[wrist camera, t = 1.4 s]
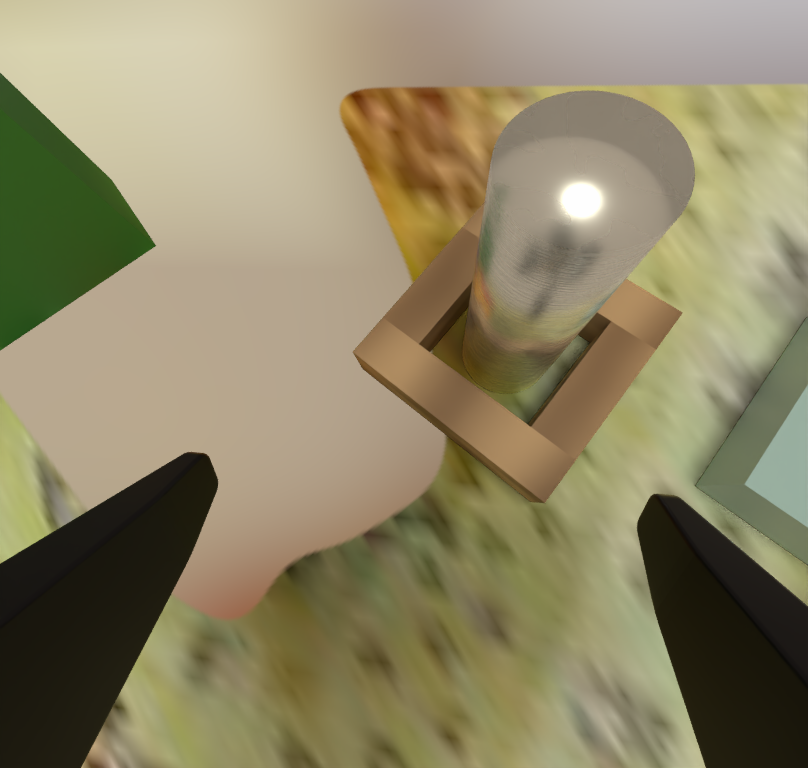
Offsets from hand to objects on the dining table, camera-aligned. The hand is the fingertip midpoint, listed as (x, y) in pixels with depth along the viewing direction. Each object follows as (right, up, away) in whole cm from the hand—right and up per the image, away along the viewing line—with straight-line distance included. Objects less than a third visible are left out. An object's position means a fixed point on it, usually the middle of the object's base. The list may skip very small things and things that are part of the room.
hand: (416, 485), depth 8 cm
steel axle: (+6, +4, +15) cm, 17 cm away
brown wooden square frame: (+6, +4, +15) cm, 17 cm away
